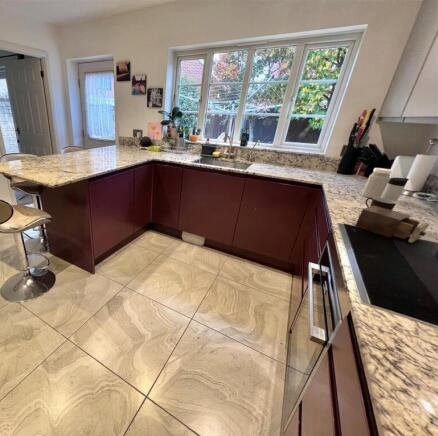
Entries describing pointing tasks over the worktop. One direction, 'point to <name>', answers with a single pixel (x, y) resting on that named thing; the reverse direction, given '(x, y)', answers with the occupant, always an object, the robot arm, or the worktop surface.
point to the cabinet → (380, 220)
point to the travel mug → (394, 188)
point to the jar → (376, 183)
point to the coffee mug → (382, 203)
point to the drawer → (410, 229)
